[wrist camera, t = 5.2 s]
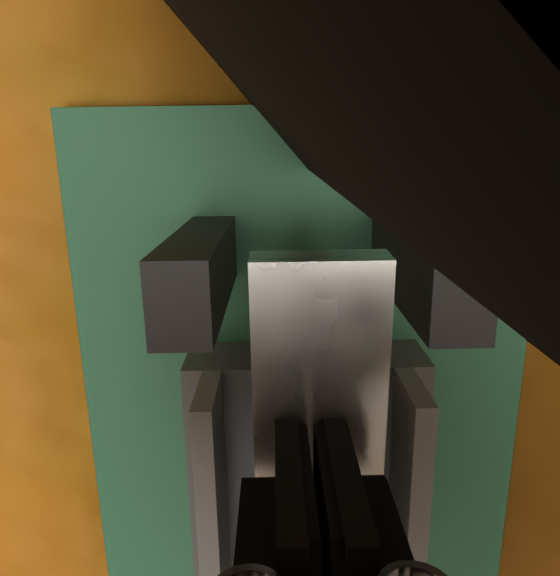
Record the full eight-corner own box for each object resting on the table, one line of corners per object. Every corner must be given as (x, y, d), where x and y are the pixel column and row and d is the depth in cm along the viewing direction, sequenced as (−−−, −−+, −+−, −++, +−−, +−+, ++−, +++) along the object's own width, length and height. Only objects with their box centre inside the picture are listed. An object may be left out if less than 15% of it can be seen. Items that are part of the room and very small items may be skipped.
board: (475, 652, 24) (594, 954, 15) (129, 658, 24) (42, 964, 15) (537, 103, 17) (809, 58, 9) (65, 110, 17) (-156, 71, 8)
